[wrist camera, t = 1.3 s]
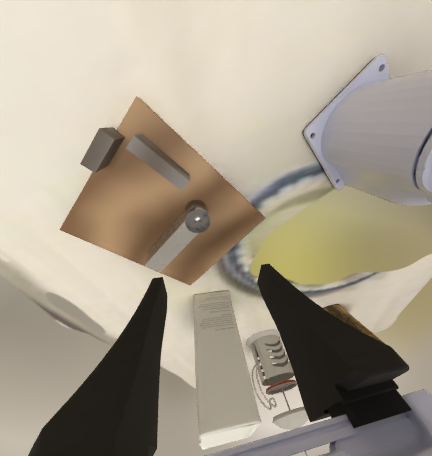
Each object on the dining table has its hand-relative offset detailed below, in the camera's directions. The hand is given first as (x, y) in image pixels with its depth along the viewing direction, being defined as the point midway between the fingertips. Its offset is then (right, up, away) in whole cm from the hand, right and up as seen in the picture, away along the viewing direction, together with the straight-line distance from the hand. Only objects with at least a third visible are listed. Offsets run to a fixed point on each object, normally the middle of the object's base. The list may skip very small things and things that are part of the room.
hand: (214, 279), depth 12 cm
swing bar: (-4, +4, +7) cm, 9 cm away
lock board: (-5, +5, +7) cm, 10 cm away
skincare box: (-1, -10, +19) cm, 21 cm away
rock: (+31, -18, +30) cm, 46 cm away
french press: (+12, -26, +31) cm, 42 cm away
